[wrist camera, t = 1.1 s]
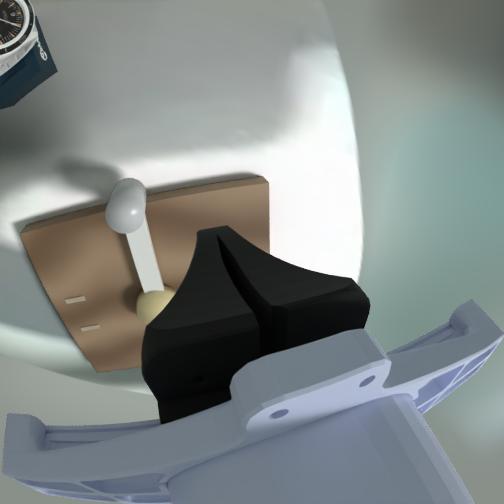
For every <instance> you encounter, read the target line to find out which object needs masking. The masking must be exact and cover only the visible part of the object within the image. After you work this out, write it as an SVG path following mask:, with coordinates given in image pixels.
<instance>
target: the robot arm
mask: <svg viewBox="0 0 504 504" xmlns="http://www.w3.org/2000/svg"><path fill="white" fill-rule="evenodd" d="M196 234H197V241H196V247H195V250H194V254H193V258H192V260H191V263H190V266H189V269H188V271H187V273H186V275H185V277H184V279H183V281H182V283H181V285H180V286H179V288H178V290H177V291H176V293H175V294H174V296H173V297H172V299H171V300H170V301H169V303H168V304H167V305H166V306H165V308H164V309H163V310H162V311H161V312H160V313H159V314H158V315H157V316H156V317H155V318H154V319H153V320H152V321H151V322H150V323H149V324H147V326H146V328H145V332H144V337H143V342H142V350H141V365H142V374H143V377H144V380H145V382H146V383H147V385H148V386H149V388H150V390H151V391H152V393H153V394H154V396H155V397H156V399H157V401H158V409H159V416H160V419H156V420H148V421H140V422H130V423H120V424H106V425H87V426H86V425H84V426H45V424H44V423H43V422H42V421H41V420H39V419H38V418H37V417H35V416H32V415H28V414H13V413H9V414H7V421H6V429H5V438H4V449H3V465H2V472H3V474H4V475H6V476H8V477H10V478H12V479H14V480H16V481H18V482H20V483H22V484H24V485H26V486H28V487H30V488H32V489H35V490H37V491H39V492H41V493H44V494H49V495H54V496H61V497H68V498H75V499H83V500H91V501H101V502H114V503H135V504H140V503H141V504H160V503H161V504H162V503H172V504H475V503H474V501H473V499H472V498H471V496H470V494H469V492H468V491H467V489H466V487H465V485H464V483H463V482H462V480H461V478H460V477H459V475H458V473H457V471H456V470H455V468H454V466H453V465H452V463H451V461H450V460H449V458H448V456H447V455H446V453H445V451H444V450H443V448H442V447H441V445H440V443H439V442H438V440H437V438H436V437H435V436H434V434H433V432H432V431H431V429H430V427H429V426H428V424H427V423H426V421H425V420H424V418H423V416H422V414H424V413H425V412H426V411H428V410H429V409H430V408H432V407H433V406H434V405H436V404H437V403H438V402H440V401H441V400H442V399H444V398H445V397H446V396H447V395H449V394H450V393H451V392H452V391H454V390H455V389H456V388H457V387H459V386H460V385H461V384H462V383H464V382H465V381H466V380H467V379H468V378H469V377H471V376H472V375H473V374H474V373H476V372H477V371H478V370H479V369H480V368H481V366H482V365H483V364H484V363H485V361H486V360H487V359H488V357H489V356H490V355H491V353H492V352H493V351H494V349H495V348H496V347H497V345H498V344H499V342H500V341H501V340H502V338H503V337H504V332H503V331H502V330H501V329H500V328H499V327H498V326H497V325H496V324H495V323H494V322H493V320H492V319H491V318H490V317H489V316H488V315H487V314H486V313H485V312H484V311H483V310H482V309H481V308H480V307H479V306H478V305H477V304H476V303H475V302H474V301H473V300H472V299H470V300H468V301H466V302H465V303H463V304H461V305H459V306H458V307H457V308H456V309H455V310H454V311H453V313H452V314H451V316H450V318H449V322H447V323H445V324H443V325H442V326H440V327H438V328H436V329H434V330H432V331H430V332H429V333H427V334H425V335H423V336H421V337H419V338H417V339H415V340H413V341H411V342H409V343H407V344H405V345H403V346H401V347H399V348H397V349H394V350H392V351H390V352H388V353H385V352H384V350H383V349H382V348H381V347H380V345H379V343H378V342H377V341H376V339H375V338H374V336H373V335H372V334H371V333H369V332H368V331H367V330H365V329H364V327H365V324H366V321H367V318H368V315H369V310H370V301H369V298H368V297H367V296H366V294H365V293H364V292H363V291H362V289H361V288H360V287H359V286H358V285H357V284H356V282H355V281H354V280H353V279H352V278H347V277H340V276H334V275H328V274H323V273H319V272H315V271H311V270H307V269H304V268H301V267H298V266H295V265H293V264H290V263H287V262H285V261H283V260H281V259H278V258H276V257H274V256H272V255H270V254H268V253H266V252H265V251H263V250H261V249H260V248H258V247H256V246H255V245H253V244H252V243H250V242H249V241H247V240H246V239H245V238H243V237H242V236H241V235H239V234H238V233H237V232H236V231H234V230H233V229H232V228H230V227H229V226H228V225H225V226H219V227H214V228H208V229H203V230H198V232H197V233H196Z"/></svg>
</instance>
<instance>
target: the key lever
mask: <svg viewBox="0 0 504 504" xmlns="http://www.w3.org/2000/svg"><path fill="white" fill-rule="evenodd" d="M146 197H147V192H146V188H145V186H144V185H143V184H142V183H141V182H140V181H139V180H137V179H134V178H126V179H123V180H121V181H120V182H118V183H117V184H116V186H115V188H114V190H113V192H112V195H111V197H110V200H109V202H108V205H107V208H106V211H105V218H106V222H107V224H108V225H109V226H110V228H111V229H113V230H114V231H116V232H118V233H123V234H126V236H127V239H128V243H129V246H130V249H131V253H132V256H133V259H134V263H135V266H136V269H137V272H138V275H139V278H140V281H141V284H142V287H143V291H142V292H141V293H140V294H139V296H138V298H137V315H138V317H139V319H140V320H141V321H142V322H143V323H144V324H146V325H147V324H149V323H150V322H151V321H152V320H153V319H154V318H155V317H156V316H157V315H158V314H159V313H160V312H161V311H162V310H163V309H164V308H165V306H166V305H167V304H168V303H169V301H170V300H171V299H172V297H173V296H174V294H175V293H176V290H174V289H173V288H171V287H168V286H164V285H163V282H162V278H161V275H160V271H159V267H158V263H157V260H156V256H155V252H154V248H153V244H152V240H151V236H150V232H149V228H148V223H147V219H146V215H145V206H146Z"/></svg>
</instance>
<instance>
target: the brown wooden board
mask: <svg viewBox="0 0 504 504" xmlns="http://www.w3.org/2000/svg"><path fill="white" fill-rule="evenodd" d="M107 205H108V204H104V205H100V206H96V207H91V208H87V209H83V210H79V211H75V212H72V213H68V214H64V215H60V216H57V217H53V218H49V219H46V220H42V221H39V222H35V223H32V224H29V225H26V226H25V228H24V229H23V230H22V232H21V233H20V236H21V238H22V241H23V243H24V245H25V248H26V250H27V252H28V255H29V257H30V259H31V261H32V263H33V266H34V268H35V270H36V272H37V274H38V276H39V278H40V280H41V282H42V284H43V286H44V288H45V290H46V292H47V294H48V295H49V297H50V299H51V301H52V303H53V305H54V306H55V308H56V310H57V312H58V313H59V315H60V317H61V319H62V320H63V322H64V324H65V325H66V327H67V328H68V330H69V332H70V333H71V335H72V336H73V338H74V340H75V341H76V343H77V344H78V346H79V347H80V349H81V350H82V352H83V353H84V355H85V356H86V357H87V359H88V360H89V362H90V363H91V365H92V366H93V367H94V369H95V370H96V371H97V373H98V372H107V371H115V370H122V369H130V368H136V367H142V365H141V350H142V342H143V337H144V332H145V328H146V326H147V325H146V324H144V323H143V322H142V321H141V320H140V319H139V317H138V315H137V298H138V296H139V294H140V293H141V292H142V291H143V287H142V284H141V281H140V278H139V275H138V272H137V269H136V266H135V263H134V259H133V256H132V253H131V249H130V246H129V243H128V239H127V236H126V234H123V233H118V232H116V231H114V230H113V229H111V228H110V226H109V225H108V224H107V222H106V218H105V211H106V208H107ZM145 215H146V219H147V223H148V228H149V232H150V236H151V240H152V244H153V248H154V252H155V256H156V260H157V263H158V267H159V271H160V275H161V278H162V282H163V285H164V286H168V287H171V288H173V289H174V290H176V291H177V290H178V288H179V286H180V285H181V283H182V281H183V279H184V277H185V275H186V273H187V271H188V269H189V266H190V263H191V260H192V258H193V254H194V250H195V247H196V241H197V234H196V233H197V232H198V230H203V229H208V228H214V227H219V226H225V225H228V226H229V227H230V228H232V229H233V230H234V231H236V232H237V233H238V234H239V235H241V236H242V237H243V238H245V239H246V240H247V241H249V242H250V243H252V244H253V245H255V246H256V247H258V248H260V249H261V250H263V251H265V252H266V253H268V254H270V238H269V182H268V181H267V180H266V179H265V178H264V177H263V176H262V177H254V178H247V179H239V180H232V181H225V182H219V183H212V184H206V185H200V186H194V187H188V188H182V189H177V190H171V191H166V192H161V193H155V194H150V195H147V197H146V206H145Z"/></svg>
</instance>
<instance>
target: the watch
mask: <svg viewBox="0 0 504 504" xmlns="http://www.w3.org/2000/svg"><path fill="white" fill-rule="evenodd" d="M56 72H58V71H57V69H56V66H55V64H54V61H53V59H52V56H51V54H50V51H49V49H48V46H47V44H46V41H45V38H44V36H43V33H42V30H41V27H40V25H39V22H38V19H37V16H35V15H34V10H33V7H32V4H31V2H30V1H29V0H0V109H3V108H7V107H10V106H13V105H15V104H16V103H17V102H18V101H19V100H20V99H22V98H23V97H24V96H25V95H27V94H28V93H29V92H30V91H32V90H33V89H34V88H36V87H37V86H38V85H39V84H41V83H42V82H44V81H45V80H46V79H48V78H49V77H50V76H52V75H53V74H55V73H56Z"/></svg>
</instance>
